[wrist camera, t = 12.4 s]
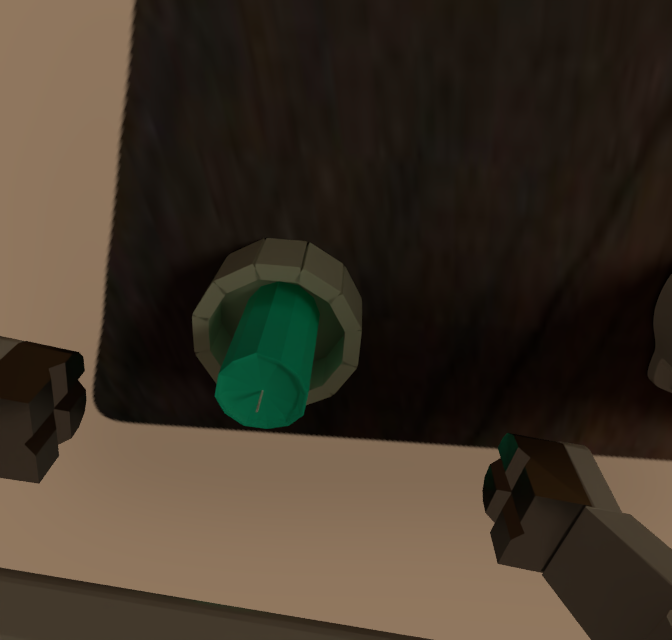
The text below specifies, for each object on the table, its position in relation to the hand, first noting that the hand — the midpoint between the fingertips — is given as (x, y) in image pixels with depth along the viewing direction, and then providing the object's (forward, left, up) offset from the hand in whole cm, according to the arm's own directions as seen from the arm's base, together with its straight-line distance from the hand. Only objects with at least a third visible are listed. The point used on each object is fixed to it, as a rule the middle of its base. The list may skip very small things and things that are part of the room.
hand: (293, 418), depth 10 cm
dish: (-4, +14, -30) cm, 33 cm away
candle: (-4, +14, -29) cm, 33 cm away
